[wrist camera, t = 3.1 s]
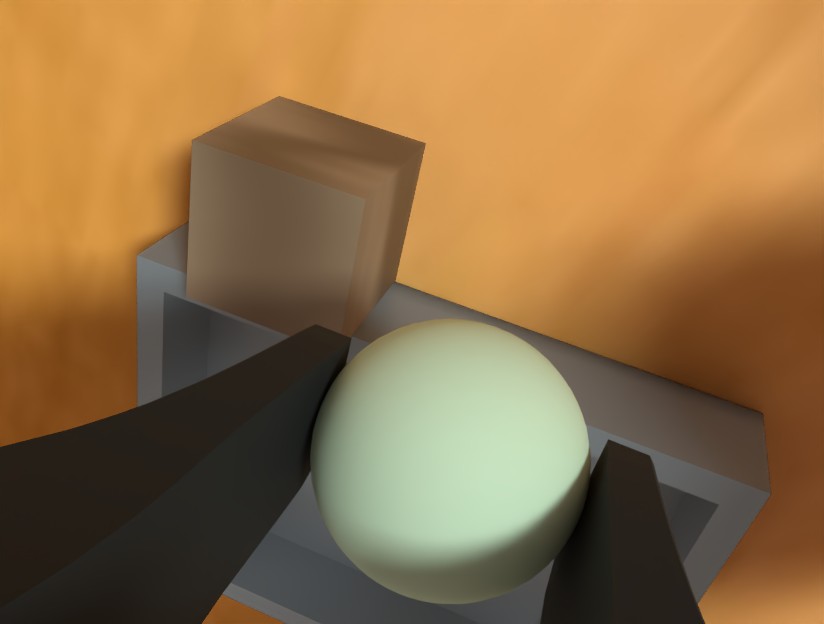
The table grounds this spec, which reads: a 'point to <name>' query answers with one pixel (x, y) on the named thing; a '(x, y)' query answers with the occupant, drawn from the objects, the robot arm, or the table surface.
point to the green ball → (450, 461)
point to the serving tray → (582, 370)
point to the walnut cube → (298, 216)
